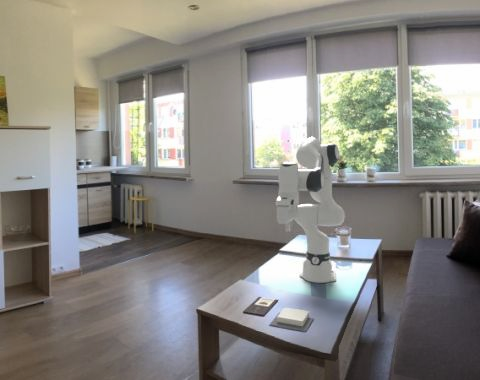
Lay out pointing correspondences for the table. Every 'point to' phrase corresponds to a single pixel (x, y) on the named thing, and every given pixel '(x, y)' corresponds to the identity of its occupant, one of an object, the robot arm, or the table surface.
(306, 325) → the mat
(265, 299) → the chocolate bar
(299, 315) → the tile
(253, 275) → the table surface
